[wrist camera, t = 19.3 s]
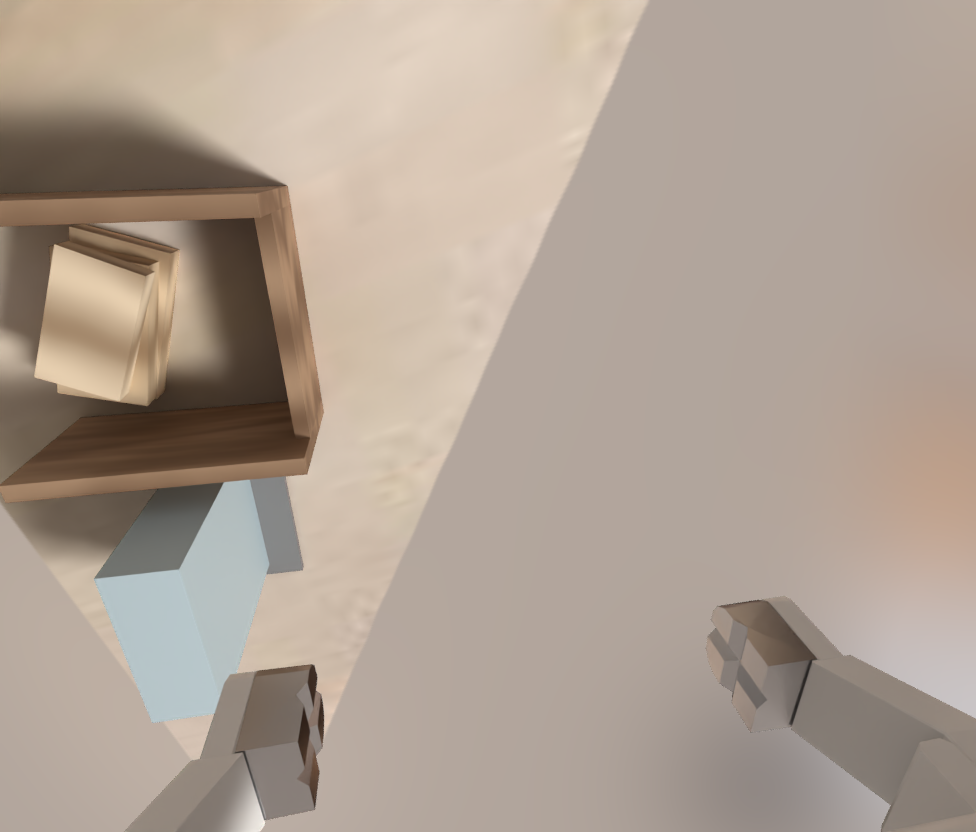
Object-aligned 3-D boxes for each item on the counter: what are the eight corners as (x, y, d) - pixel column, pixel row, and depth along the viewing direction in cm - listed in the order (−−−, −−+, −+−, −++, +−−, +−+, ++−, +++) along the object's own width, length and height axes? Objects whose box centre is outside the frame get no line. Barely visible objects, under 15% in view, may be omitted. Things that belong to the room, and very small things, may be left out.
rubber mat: (146, 442, 44) (143, 445, 44) (276, 431, 45) (275, 434, 45) (189, 580, 50) (187, 583, 50) (303, 566, 51) (302, 570, 51)
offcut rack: (-2, 193, 36) (-132, 204, 27) (287, 185, 38) (255, 193, 29) (85, 431, 43) (5, 503, 34) (323, 412, 45) (307, 474, 36)
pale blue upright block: (183, 452, 44) (93, 579, 31) (242, 447, 45) (179, 569, 32) (217, 570, 50) (152, 723, 36) (269, 564, 50) (224, 712, 37)
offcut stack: (80, 222, 37) (34, 231, 33) (181, 249, 39) (151, 262, 34) (74, 371, 41) (32, 399, 36) (166, 391, 43) (137, 420, 38)
